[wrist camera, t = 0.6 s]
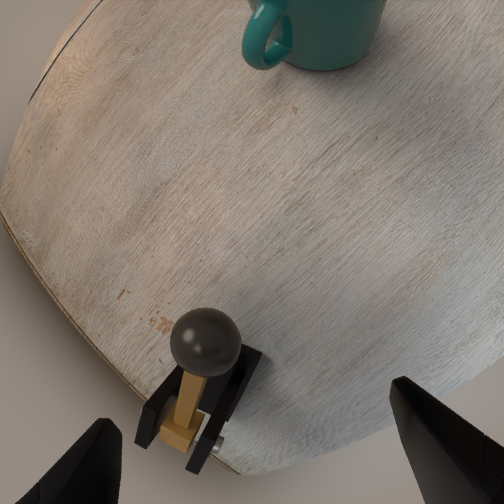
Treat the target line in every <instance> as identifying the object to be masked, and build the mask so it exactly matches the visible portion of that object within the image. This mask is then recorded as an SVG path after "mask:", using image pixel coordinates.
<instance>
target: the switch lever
mask: <svg viewBox="0 0 504 504" xmlns="http://www.w3.org/2000/svg"><path fill="white" fill-rule="evenodd" d="M170 347H171V352H172V355H173V357H174V359H175V361H176V362H177V364H178V365H179V366H180V367H181V368H182V369H183V370H184V374H183V378H182V382H181V387H180V391H179V396H178V400H177V401H175V403H174V405H173V406H172V408H171V410H170V411H169V413H168V414H167V416H166V418H165V419H164V421H163V423H162V424H161V427H160V435H159V440H160V441H162V442H164V443H166V444H168V445H170V446H172V447H174V448H176V449H178V450H180V451H182V452H184V453H187V451H188V449H189V448H190V446H191V444H192V442H193V440H194V438H195V436H196V434H197V432H198V431H199V428H200V426H201V424H202V421H203V419H204V416H205V414H203V413H201V412H199V411H197V407H198V405H199V402H200V399H201V396H202V393H203V390H204V387H205V384H206V381H207V379H208V378H210V377H216V376H219V375H221V374H223V373H225V372H226V371H228V370H229V369H230V368H231V367H232V366H233V365H234V364H235V362H236V361H237V359H238V357H239V354H240V350H241V337H240V333H239V330H238V328H237V326H236V324H235V323H234V322H233V320H232V319H231V318H230V317H229V316H227V315H226V314H225V313H223V312H221V311H219V310H216V309H212V308H198V309H194V310H191V311H189V312H187V313H186V314H184V315H183V316H182V317H181V318H180V319H179V320H178V321H177V322H176V324H175V325H174V327H173V330H172V333H171V337H170Z"/></svg>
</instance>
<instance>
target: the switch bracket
mask: <svg viewBox="0 0 504 504" xmlns="http://www.w3.org/2000/svg"><path fill="white" fill-rule="evenodd" d="M261 355H262V352H260V351H257V350H255V349H253V348H250V347H248V346H246V345H244V344H241V350H240V354H239V357H238V359H237V361H236V362H235V364H234V365H233V366H232V367H231V368H230V369H229V370H228V371H226V372H225V373H223V374H221V375H219V376H216V377H210V378H208V379H207V381H206V384H205V387H204V390H203V393H202V396H201V399H200V402H199V405H198V407H197V408H198V409H200V410H202V411H204V412H206V413H208V414H210V415H211V417H210V419H209V421H208V423H207V425H206V427H205V428H204V430H203V432H202V434H201V436H200V438H199V440H198V442H197V445H196V447H195V449H194V451H193V453H192V455H191V457H190V459H189V461H188V463H187V465H186V468H185V469H186V470H188V471H190V472H192V473H194V474H197V475H198V474H199V472H200V470H201V468H202V467H203V465H204V463H205V461H206V459H207V458H208V456H209V454H210V452H212V453H214V454H217V453H218V451H219V449H220V448H221V445H222V443H223V441H224V437H222V436H219V434H220V432H221V430H222V428H223V425H224V423H225V421H226V422H228V421H229V419H230V417H231V415H232V413H233V411H234V410H235V408H236V406H237V404H238V402H239V400H240V398H241V396H242V394H243V392H244V390H245V388H246V386H247V384H248V382H249V380H250V378H251V376H252V374H253V372H254V370H255V368H256V366H257V364H258V362H259V360H260V358H261ZM183 374H184V370H183V369H182V368H181V367H180V366H179V365H177V366H176V367H175V369H174V370H173V371H172V372H171V373H170V375H169V376H168V377H167V378H166V379H165V380H164V382H163V383H162V384H161V385H160V386H159V388H158V389H157V390H156V391H155V392H154V393H153V395H152V396H151V397H150V398H149V399H148V400H147V401H146V402H145V403H144V404H143V406H142V407H141V409H140V412H139V416H140V420H139V425H138V429H137V433H136V437H135V442H134V443H135V444H137V445H139V446H140V447H142V448H144V449H147V448H148V446H149V445H150V443H151V442H152V440H153V439H154V438H155V436H156V435H157V434H158V432H159V431H160V427H161V424H162V423H163V421H164V419H165V418H166V416H167V414H168V413H169V411H170V410H171V408H172V406H173V405H174V403H175V401H177V400H178V396H179V391H180V387H181V382H182V378H183Z"/></svg>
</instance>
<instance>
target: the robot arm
mask: <svg viewBox="0 0 504 504" xmlns="http://www.w3.org/2000/svg"><path fill="white" fill-rule="evenodd" d="M389 398H390V403H391V407H392V410H393V414H394V417H395V421H396V424H397V428H398V432H399V435H400V438H401V442H402V445H403V448H404V450H405V452H406V455H407V457H408V460H409V462H410V465H411V467H412V470H413V472H414V475H415V478H416V480H417V483H418V485H419V488H420V490H421V493H422V496H423V499H424V501H425V504H504V447H503V446H501V445H499V444H498V443H497V442H495V441H494V440H492V439H491V438H490V437H488V436H487V435H485V436H484V433H483V432H481V431H480V430H478V429H477V428H476V427H474V426H473V425H472V424H470V423H469V422H468V421H466V420H465V419H463V418H462V417H461V416H459V415H458V414H456V413H455V412H454V411H452V410H451V409H450V408H448V407H447V406H446V405H444V404H443V403H441V402H440V401H439V400H438V399H436V398H435V397H433V396H432V395H431V394H429V393H428V392H427V391H425V390H424V389H423V388H421V387H420V386H419V385H417V384H416V383H414V382H413V381H412V380H410V379H409V378H408V377H406V376H401V377H398V378H395V379H393V380H392V383H391V389H390V396H389ZM121 462H122V434H121V432H120V430H119V429H118V428H117V426H116V425H115V424H114V423H113V421H112V420H111V419H109V418H99V419H97V420H96V421H95V422H94V423H93V424H92V426H91V427H90V428H89V429H88V430H87V431H86V432H85V433H84V434H83V435H82V436H81V437H80V438H79V439H78V440H77V441H76V442H75V443H74V444H73V445H72V446H71V447H70V449H69V450H68V451H67V452H66V453H65V454H64V455H63V456H62V457H61V458H60V459H59V460H58V461H57V462H56V463H55V464H54V466H52V468H51V469H50V470H49V471H48V472H47V473H46V474H45V475H44V476H43V477H42V478H41V479H40V480H39V482H37V483H36V484H35V485H34V486H33V487H32V488H31V489H30V490H29V491H28V492H27V493H26V494H25V495H24V496H23V497H22V498H21V499H20V500H19V501H17V502H16V503H15V504H118V498H119V488H120V481H121Z"/></svg>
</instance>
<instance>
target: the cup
mask: <svg viewBox="0 0 504 504" xmlns="http://www.w3.org/2000/svg"><path fill="white" fill-rule="evenodd" d="M247 1H248V3H249V5H250V8H251V10H252V12H253V15H252V16H251V18H250V20H249V22H248V24H247V26H246V29H245V32H244V35H243V39H242V55H243V58H244V60H245V61H246V63H247V64H248V65H250V66H251V67H252V68H255V69H257V70H263V71H265V70H269V69H272V68H274V67H275V66H277V65H278V64H279V63H281V62H282V61H283V60H285V61H287V62H289V63H291V64H293V65H295V66H298V67H301V68H305V69H311V70H334V69H339V68H343V67H346V66H348V65H351V64H353V63H355V62H356V61H358V60H359V59H361V58H362V57H363V56H364V55H365V54H366V53H367V52H368V50H369V49H370V47H371V45H372V43H373V41H374V38H375V35H376V32H377V29H378V26H379V23H380V20H381V17H382V14H383V11H384V8H385V5H386V2H387V0H247ZM266 44H267V45H268V48H267V49H266V50H265V47H266Z"/></svg>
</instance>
